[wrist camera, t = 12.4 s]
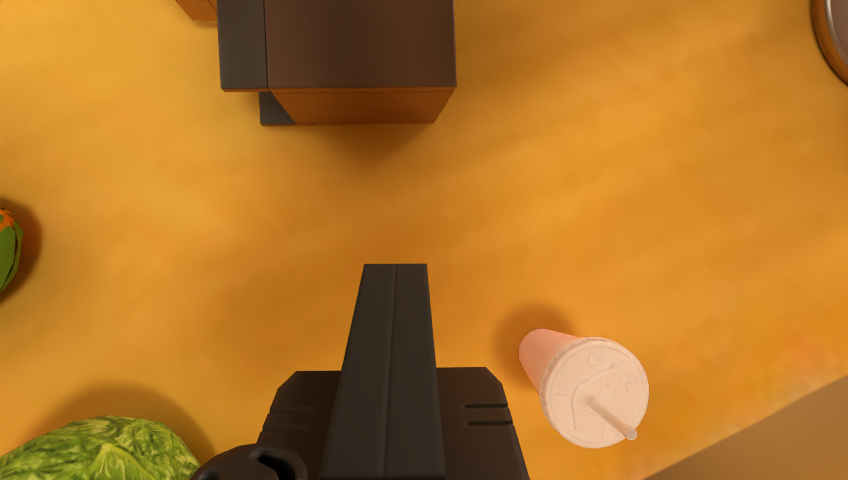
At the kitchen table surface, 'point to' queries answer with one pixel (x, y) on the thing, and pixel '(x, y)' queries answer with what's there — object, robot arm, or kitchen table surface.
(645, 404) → the smoothie
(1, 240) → the corn
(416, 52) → the box
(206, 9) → the sliding door
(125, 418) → the lettuce
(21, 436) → the kitchen table surface
